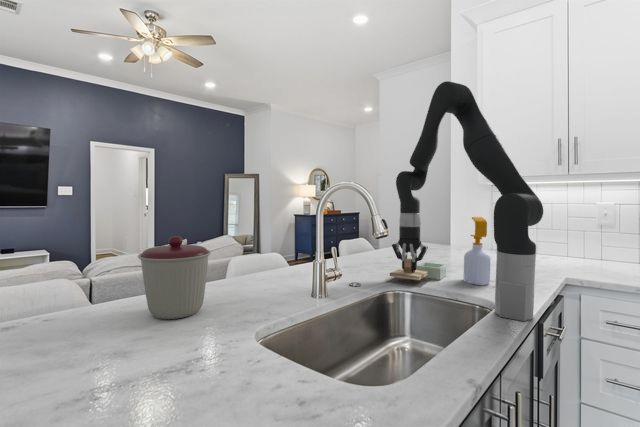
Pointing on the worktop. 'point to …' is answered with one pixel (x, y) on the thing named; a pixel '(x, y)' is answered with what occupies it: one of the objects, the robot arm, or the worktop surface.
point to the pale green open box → (433, 270)
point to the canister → (174, 278)
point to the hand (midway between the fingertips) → (409, 271)
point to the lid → (409, 271)
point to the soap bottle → (477, 257)
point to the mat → (408, 281)
